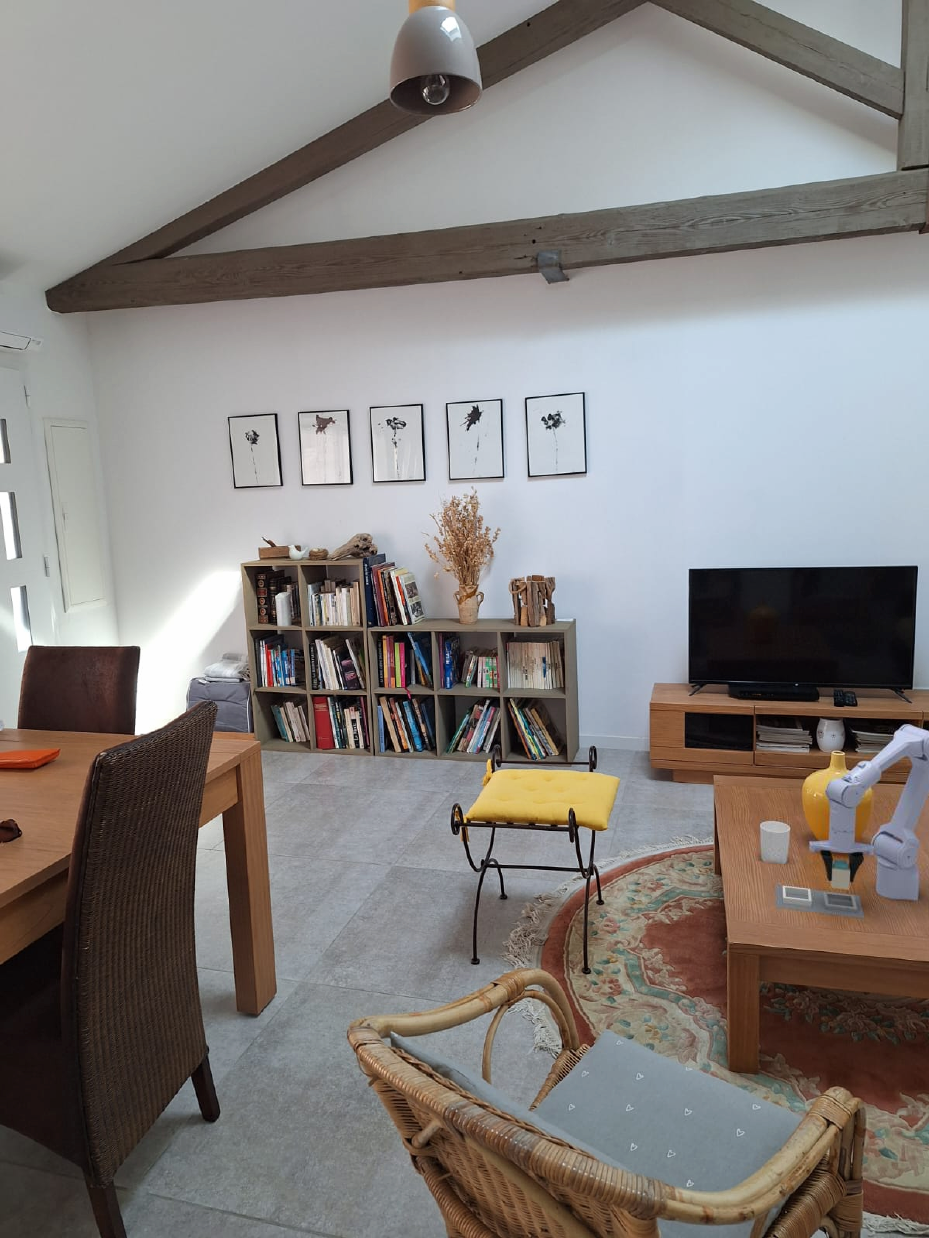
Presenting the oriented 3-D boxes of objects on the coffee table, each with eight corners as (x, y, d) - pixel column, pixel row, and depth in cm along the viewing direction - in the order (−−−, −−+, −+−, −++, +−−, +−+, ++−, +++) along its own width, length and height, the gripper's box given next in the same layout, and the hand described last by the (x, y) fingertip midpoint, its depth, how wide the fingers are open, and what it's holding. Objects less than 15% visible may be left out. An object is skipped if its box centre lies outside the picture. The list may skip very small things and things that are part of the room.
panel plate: (858, 899, 214) (859, 895, 214) (864, 922, 203) (864, 918, 203) (775, 889, 221) (775, 885, 221) (775, 911, 210) (776, 907, 209)
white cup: (787, 855, 240) (788, 822, 239) (790, 867, 233) (791, 833, 231) (758, 853, 242) (759, 820, 241) (760, 864, 235) (761, 830, 233)
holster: (854, 899, 212) (854, 895, 212) (857, 912, 206) (857, 908, 205) (823, 895, 215) (823, 891, 214) (825, 908, 208) (825, 905, 208)
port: (810, 894, 215) (810, 888, 215) (811, 906, 209) (811, 900, 209) (782, 891, 217) (782, 885, 217) (783, 903, 211) (783, 897, 211)
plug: (847, 882, 211) (848, 859, 210) (849, 889, 207) (850, 866, 206) (830, 880, 212) (831, 857, 211) (831, 887, 208) (832, 864, 207)
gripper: (869, 822, 209) (867, 874, 211) (807, 819, 212) (806, 870, 214) (877, 834, 203) (874, 887, 205) (813, 831, 206) (811, 883, 208)
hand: (840, 879), depth 209 cm, fingers closed on plug, 4 cm apart
